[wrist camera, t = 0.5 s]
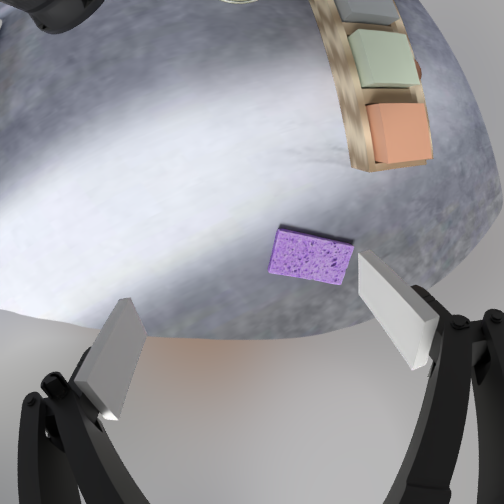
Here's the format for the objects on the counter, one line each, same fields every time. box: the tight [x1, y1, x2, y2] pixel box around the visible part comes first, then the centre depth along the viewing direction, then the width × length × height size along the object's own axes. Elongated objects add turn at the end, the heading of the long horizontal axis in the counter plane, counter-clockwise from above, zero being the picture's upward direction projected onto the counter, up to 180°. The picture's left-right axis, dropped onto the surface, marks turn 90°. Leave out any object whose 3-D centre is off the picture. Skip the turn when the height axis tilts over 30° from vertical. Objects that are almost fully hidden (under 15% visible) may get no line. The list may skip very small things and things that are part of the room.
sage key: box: [347, 29, 420, 89], centre depth 25 cm, size 7×7×5 cm
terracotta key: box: [366, 103, 432, 164], centre depth 29 cm, size 7×7×5 cm
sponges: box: [268, 228, 354, 285], centre depth 42 cm, size 7×13×2 cm, turn 77°
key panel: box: [309, 0, 433, 172], centre depth 28 cm, size 30×15×6 cm, turn 13°
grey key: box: [334, 0, 400, 26], centre depth 21 cm, size 7×7×5 cm
